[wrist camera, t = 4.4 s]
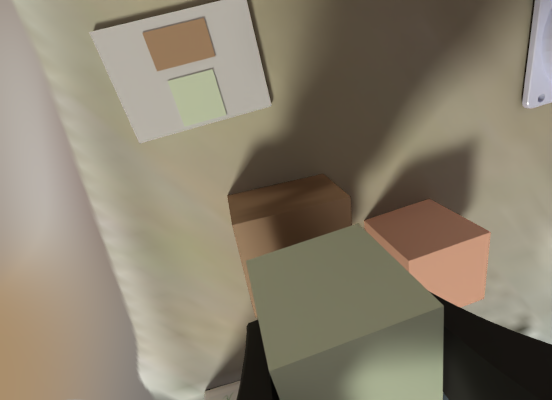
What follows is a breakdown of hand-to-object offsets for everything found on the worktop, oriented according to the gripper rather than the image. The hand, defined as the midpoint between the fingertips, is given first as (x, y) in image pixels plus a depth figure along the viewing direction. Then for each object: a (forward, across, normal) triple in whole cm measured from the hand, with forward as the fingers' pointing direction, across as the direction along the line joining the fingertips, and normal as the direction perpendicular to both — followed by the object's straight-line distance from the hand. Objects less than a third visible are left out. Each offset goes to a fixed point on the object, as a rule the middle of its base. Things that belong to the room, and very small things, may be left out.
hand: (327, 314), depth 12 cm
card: (+8, +2, -10) cm, 13 cm away
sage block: (+2, 0, 0) cm, 2 cm away
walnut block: (+8, 0, 0) cm, 8 cm away
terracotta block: (+8, -8, +4) cm, 12 cm away
